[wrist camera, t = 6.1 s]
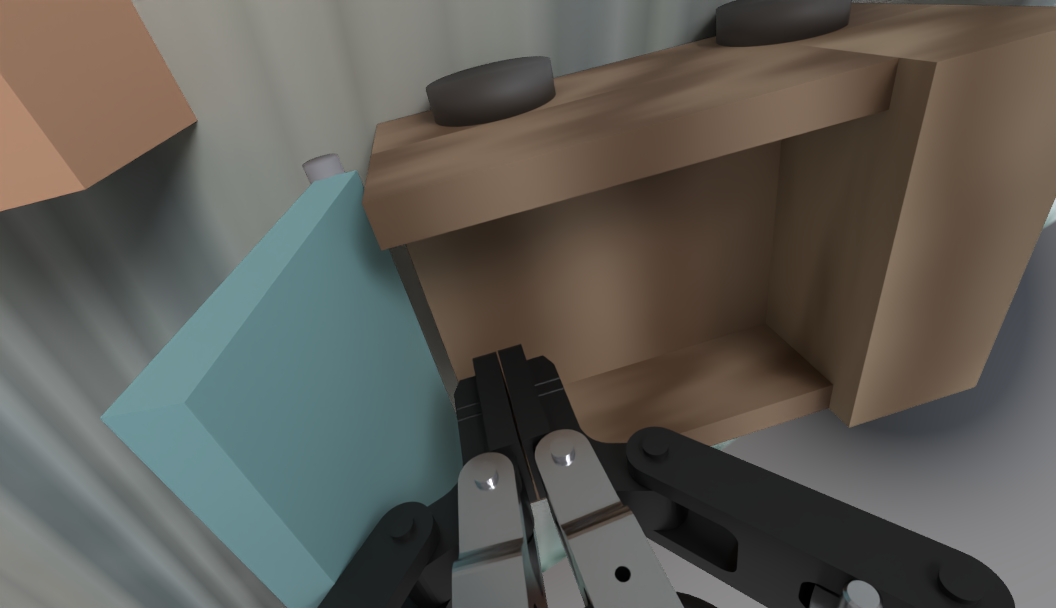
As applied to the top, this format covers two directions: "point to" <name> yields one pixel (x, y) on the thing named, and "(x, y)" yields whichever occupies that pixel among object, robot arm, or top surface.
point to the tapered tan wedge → (78, 96)
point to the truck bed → (737, 212)
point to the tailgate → (298, 397)
